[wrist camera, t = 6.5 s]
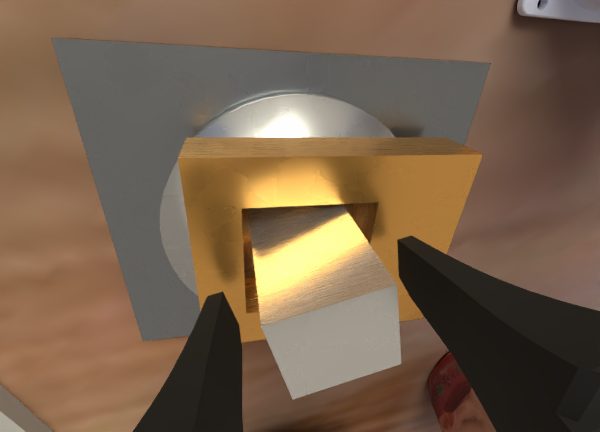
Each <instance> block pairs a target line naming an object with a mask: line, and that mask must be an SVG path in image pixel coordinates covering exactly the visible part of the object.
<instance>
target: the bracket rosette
mask: <svg viewBox="0 0 600 432" xmlns="http://www.w3.org/2000/svg"><path fill="white" fill-rule="evenodd" d="M51 39H52V42H53V45H54V49H55V52H56V55H57V59H58V62H59V65H60V69H61V72H62V75H63V78H64V82H65V85H66V88H67V92H68V95H69V98H70V102H71V105H72V108H73V112H74V115H75V118H76V121H77V125H78V128H79V131H80V135H81V138H82V141H83V145H84V148H85V151H86V155H87V158H88V161H89V164H90V168H91V171H92V174H93V178H94V181H95V184H96V188H97V191H98V194H99V198H100V201H101V204H102V207H103V211H104V214H105V217H106V221H107V224H108V227H109V231H110V234H111V237H112V240H113V244H114V247H115V250H116V254H117V257H118V260H119V264H120V267H121V270H122V274H123V277H124V280H125V283H126V287H127V290H128V293H129V297H130V300H131V303H132V307H133V310H134V313H135V317H136V320H137V323H138V326H139V330H140V333H141V336H142V340H143V341H151V340H159V339H167V338H175V337H183V336H190V334H191V332H192V330H193V328H194V325H195V323H196V321H197V319H198V316H199V314H200V312H201V309H202V307H203V305H204V302H205V300H206V298H207V296H209V295H213V294H216V293H219V292H224V294H225V297H226V299H227V301H228V303H229V305H230V307H231V309H232V311H233V313H234V315H235V317H236V319H237V321H238V323H239V327H240V335H241V342H249V341H256V340H264V339H266V337H265V335H264V332H263V330H262V328H261V321H260V312H259V303H258V294H257V285H256V276H255V267H254V258H253V249H252V240H251V231H250V222H249V213H248V208H263V207H285V206H307V205H329V204H343V206H344V207H345V209H346V210H347V212H348V213H349V214H350V216H351V217H352V219H353V220H354V222H355V223H356V225H357V226H358V228H359V229H360V231H361V232H362V234H363V235H364V237H365V238H366V239H367V241H368V242H369V244H370V245H371V247H372V248H373V250H374V251H375V253H376V254H377V256H378V257H379V259H380V260H381V261H382V263H383V264H384V266H385V267H386V269H387V270H388V272H389V273H390V275H391V276H392V278H393V279H394V281H395V282H396V284H397V290H398V309H399V322H400V321H407V320H415V319H422V318H423V317H424V315H423V314H422V313H421V311H420V310H419V308H418V307H417V306H416V304H415V303H414V302H413V300H412V299H411V297H410V296H409V294H408V292H407V290H406V289H405V287H404V285H403V283H402V281H401V280H400V278H399V271H398V244H397V240H398V239H401V238H404V237H408V236H411V235H412V236H414V237H416V238H417V239H419V240H421V241H423V242H425V243H426V244H428V245H430V246H432V247H434V248H435V249H437V250H439V251H441V252H443V253H445V254H447V251H448V249H449V246H450V243H451V240H452V238H453V235H454V232H455V229H456V227H457V224H458V221H459V219H460V216H461V213H462V210H463V208H464V205H465V202H466V199H467V197H468V194H469V191H470V189H471V186H472V183H473V180H474V178H475V175H476V172H477V169H478V167H479V164H480V161H481V159H482V156H483V154H481V153H479V152H477V151H474V150H472V149H470V148H468V147H466V146H464V144H465V141H466V138H467V135H468V132H469V129H470V126H471V123H472V120H473V117H474V114H475V111H476V108H477V104H478V101H479V98H480V95H481V92H482V89H483V86H484V83H485V80H486V77H487V74H488V71H489V68H490V65H491V63H482V62H468V61H451V60H434V59H417V58H400V57H382V56H365V55H348V54H331V53H313V52H296V51H279V50H262V49H245V48H227V47H210V46H193V45H176V44H158V43H141V42H124V41H107V40H89V39H72V38H51Z"/></svg>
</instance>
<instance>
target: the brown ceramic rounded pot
mask: <svg viewBox="0 0 600 432" xmlns="http://www.w3.org/2000/svg"><path fill="white" fill-rule="evenodd" d="M428 388H429V394H430V399H431V402H432V406H433V408H434V411H435V413H436V416H437V419H438V422H439V424H440V427H441V429H442V431H443V432H496V430H495V428H494V427H493V425H492V423H491V421H490V419H489V417H488V416H487V414H486V412H485V410H484V408H483V406H482V405H481V403H480V401H479V399H478V398H477V396H476V394H475V392H474V391H473V389H472V387H471V386H470V384H469V382H468V380H467V379H466V377H465V375H464V374H463V372H462V370H461V369H460V367H459V365H458V364H457V362H456V360H455V359H454V357H453V355H452V354H451V352H450V353H448V354H447V355H446V356H445V357H444V358H443V359H442V360H441V361H440V362H439V364H438V365H437V366H436V367H435V368H434V370H433V372H432V374H431V376H430V379H429V384H428Z"/></svg>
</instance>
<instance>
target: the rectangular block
mask: <svg viewBox="0 0 600 432" xmlns="http://www.w3.org/2000/svg"><path fill="white" fill-rule="evenodd" d="M248 213H249V222H250V231H251V240H252V249H253V258H254V267H255V276H256V285H257V294H258V303H259V312H260V321H261V328H262V330H263V332H264V335H265V337H266V339H267V342H268V344H269V346H270V348H271V351H272V353H273V355H274V358H275V360H276V362H277V365H278V367H279V369H280V371H281V374H282V376H283V378H284V381H285V383H286V385H287V387H288V390H289V392H290V394H291V397H292V399H296V398H299V397H302V396H305V395H308V394H311V393H314V392H318V391H321V390H324V389H327V388H330V387H333V386H336V385H339V384H342V383H345V382H348V381H351V380H354V379H357V378H360V377H363V376H366V375H369V374H372V373H375V372H378V371H381V370H384V369H388V368H391V367H394V366H397V365H400V364H401V348H400V329H399V309H398V290H397V284H396V282H395V281H394V279H393V278H392V276H391V275H390V273H389V272H388V270H387V269H386V267H385V266H384V264H383V263H382V261H381V260H380V259H379V257H378V256H377V254H376V253H375V251H374V250H373V248H372V247H371V245H370V244H369V242H368V241H367V239H366V238H365V237H364V235H363V234H362V232H361V231H360V229H359V228H358V226H357V225H356V223H355V222H354V220H353V219H352V217H351V216H350V214H349V213H348V212H347V210H346V209H345V207H344V206H343V204H329V205H307V206H285V207H263V208H248Z"/></svg>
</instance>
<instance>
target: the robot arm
mask: <svg viewBox="0 0 600 432" xmlns="http://www.w3.org/2000/svg"><path fill="white" fill-rule="evenodd" d="M538 1H539V0H518V4H517V11H518V13H519V15H522V16H529V17H539V18H549V19H560V20H570V21H580V22H591V23H600V0H541V2H540V5H539V7H537V5H538ZM397 244H398V271H399V278H400V280H401V281H402V283H403V285H404V287H405V289H406V290H407V292H408V294H409V296H410V297H411V299H412V300H413V302H414V303H415V304H416V306H417V307H418V308H419V310H420V311H421V313H422V314H423V315H424V317H425V318H426V319H427V321H428V322H429V323H430V325H431V326H432V327H433V329H434V330H435V331H436V333H437V334H438V336H439V337H440V338H441V340H442V341H443V342H444V344H445V345H446V347H447V348H448V349H449V351H450V352H451V354H452V355H453V357H454V359H455V360H456V362H457V364H458V365H459V367H460V369H461V370H462V372H463V374H464V375H465V377H466V379H467V380H468V382H469V384H470V386H471V387H472V389H473V391H474V392H475V394H476V396H477V398H478V399H479V401H480V403H481V405H482V406H483V408H484V410H485V412H486V414H487V416H488V417H489V419H490V421H491V423H492V425H493V427H494V428H495V430H496V432H600V311H597V310H593V309H589V308H585V307H581V306H577V305H574V304H570V303H567V302H563V301H559V300H556V299H553V298H550V297H547V296H544V295H540V294H537V293H534V292H531V291H528V290H525V289H523V288H520V287H517V286H515V285H512V284H509V283H507V282H504V281H502V280H499V279H497V278H494V277H492V276H490V275H487V274H485V273H483V272H481V271H479V270H476V269H474V268H472V267H470V266H468V265H466V264H464V263H462V262H460V261H458V260H456V259H454V258H452V257H450V256H448V255H446V254H445V253H443V252H441V251H439V250H437V249H435V248H434V247H432V246H430V245H428V244H426V243H425V242H423V241H421V240H419V239H417V238H416V237H414V236H412V235H411V236H408V237H404V238H401V239H398V240H397ZM133 432H243V424H242V344H241V335H240V327H239V323H238V321H237V319H236V317H235V315H234V313H233V311H232V309H231V307H230V305H229V303H228V301H227V299H226V297H225V294H224V292H219V293H216V294H213V295H209V296H207V298H206V300H205V302H204V305H203V307H202V309H201V312H200V314H199V316H198V319H197V321H196V323H195V325H194V328H193V330H192V332H191V334H190V336H189V338H188V340H187V343H186V345H185V347H184V349H183V351H182V353H181V354H180V356H179V358H178V360H177V362H176V364H175V366H174V368H173V370H172V371H171V373H170V375H169V377H168V378H167V380H166V382H165V383H164V385H163V387H162V388H161V390H160V392H159V393H158V395H157V396H156V398H155V400H154V401H153V403H152V404H151V406H150V407H149V409H148V410H147V412H146V413H145V415H144V416H143V418H142V419H141V420H140V422H139V423H138V425H137V426H136V428H135V429H134V430H133Z"/></svg>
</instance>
